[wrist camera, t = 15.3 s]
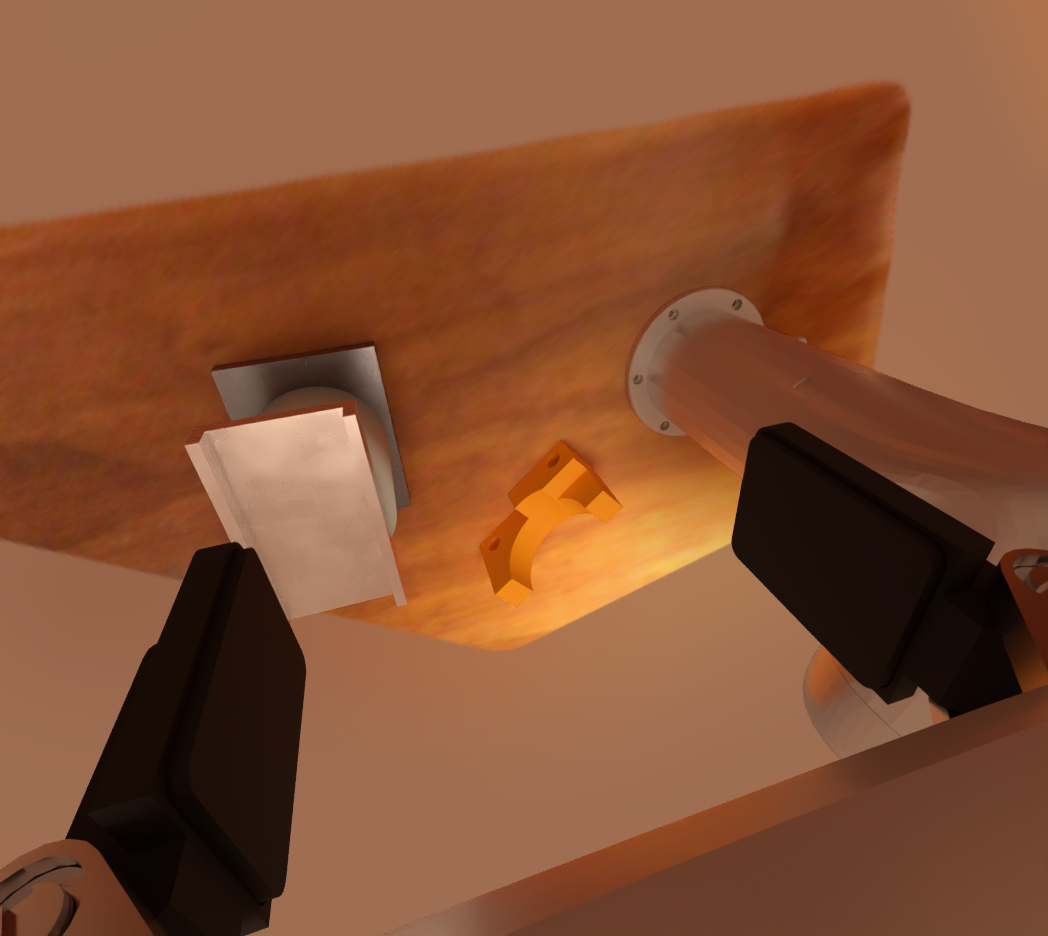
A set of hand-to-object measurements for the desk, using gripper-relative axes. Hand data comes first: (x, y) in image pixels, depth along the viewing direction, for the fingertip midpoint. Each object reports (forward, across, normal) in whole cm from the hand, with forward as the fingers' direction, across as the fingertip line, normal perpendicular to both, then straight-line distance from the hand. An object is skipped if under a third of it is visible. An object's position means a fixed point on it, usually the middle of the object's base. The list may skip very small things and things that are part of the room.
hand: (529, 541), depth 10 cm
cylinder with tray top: (+28, +8, +10) cm, 31 cm away
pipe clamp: (+29, -7, +20) cm, 36 cm away
